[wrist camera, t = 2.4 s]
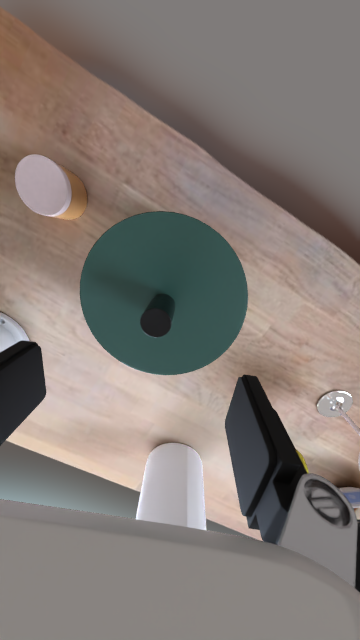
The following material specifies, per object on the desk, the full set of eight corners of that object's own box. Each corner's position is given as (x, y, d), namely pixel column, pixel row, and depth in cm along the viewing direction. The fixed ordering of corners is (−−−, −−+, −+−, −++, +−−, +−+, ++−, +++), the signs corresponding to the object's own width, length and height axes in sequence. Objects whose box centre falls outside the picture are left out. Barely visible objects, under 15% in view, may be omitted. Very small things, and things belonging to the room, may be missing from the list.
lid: (190, 390, 26) (191, 432, 21) (63, 326, 24) (23, 353, 18) (279, 274, 21) (315, 286, 15) (125, 172, 18) (95, 139, 12)
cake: (46, 216, 29) (18, 211, 24) (41, 166, 27) (10, 149, 22) (88, 222, 29) (68, 219, 24) (87, 173, 27) (65, 158, 22)
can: (174, 484, 49) (166, 632, 31) (136, 458, 46) (101, 603, 28) (213, 461, 46) (230, 612, 27) (174, 431, 43) (163, 577, 24)
